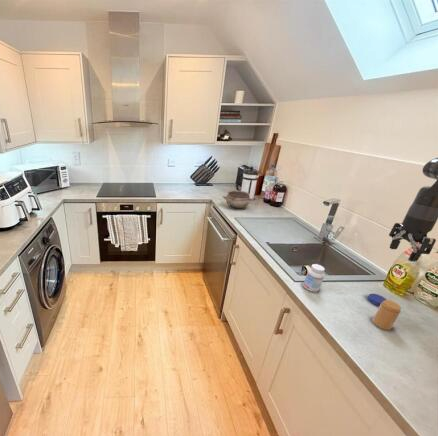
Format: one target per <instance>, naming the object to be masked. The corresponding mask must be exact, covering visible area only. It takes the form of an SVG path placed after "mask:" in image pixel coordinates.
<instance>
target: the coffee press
mask: <svg viewBox="0 0 438 436" xmlns="http://www.w3.org/2000/svg"><path fill="white" fill-rule="evenodd" d="M259 174H260V173H259V171H258V170H257V169H254V166H250V168H246V169H244V171H243V172H242V174H240V175H238V177H237V179H236V184H235V190H238V191H245V192H248V193H249V194H250V196H249V197H250V198H254V200H256V198H255V194H256V189H257V183H258V179H259V177H260V176H259ZM241 178H242V179H241ZM240 179H241V185H240ZM239 185H240V189H239ZM254 200H253V201H254Z"/></svg>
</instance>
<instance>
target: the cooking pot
mask: <svg viewBox="0 0 438 436" xmlns="http://www.w3.org/2000/svg"><path fill="white" fill-rule="evenodd" d="M249 196H250V194H249V193H248V192H245V191H238V190H237V189H234V190H228V191H227V195H226V196H224V195H222V198H223V199H224V200H225V201H226V203H227V205H229V207H231V208H233V209H237V210H239V209H243V208H245V207H248V205H250V202H253V201H254V199H255V197H254V198H250V197H249Z"/></svg>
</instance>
